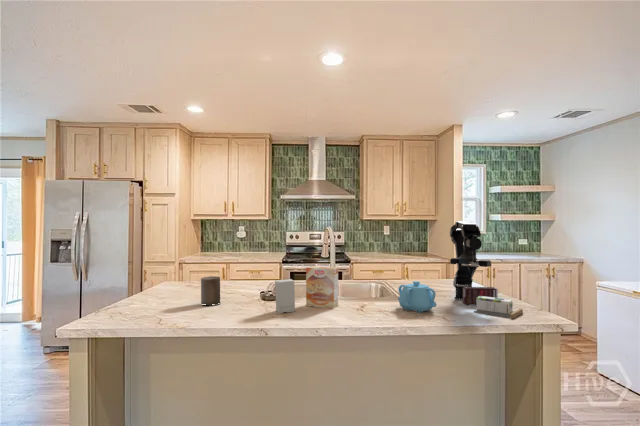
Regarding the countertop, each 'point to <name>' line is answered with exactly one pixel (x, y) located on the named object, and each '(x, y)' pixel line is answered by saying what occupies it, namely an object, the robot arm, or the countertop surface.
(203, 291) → the pillar candle
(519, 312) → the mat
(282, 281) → the skincare box
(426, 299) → the decorative pot
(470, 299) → the supplement box
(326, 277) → the coffeecake box
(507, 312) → the syrup box
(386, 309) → the countertop surface
